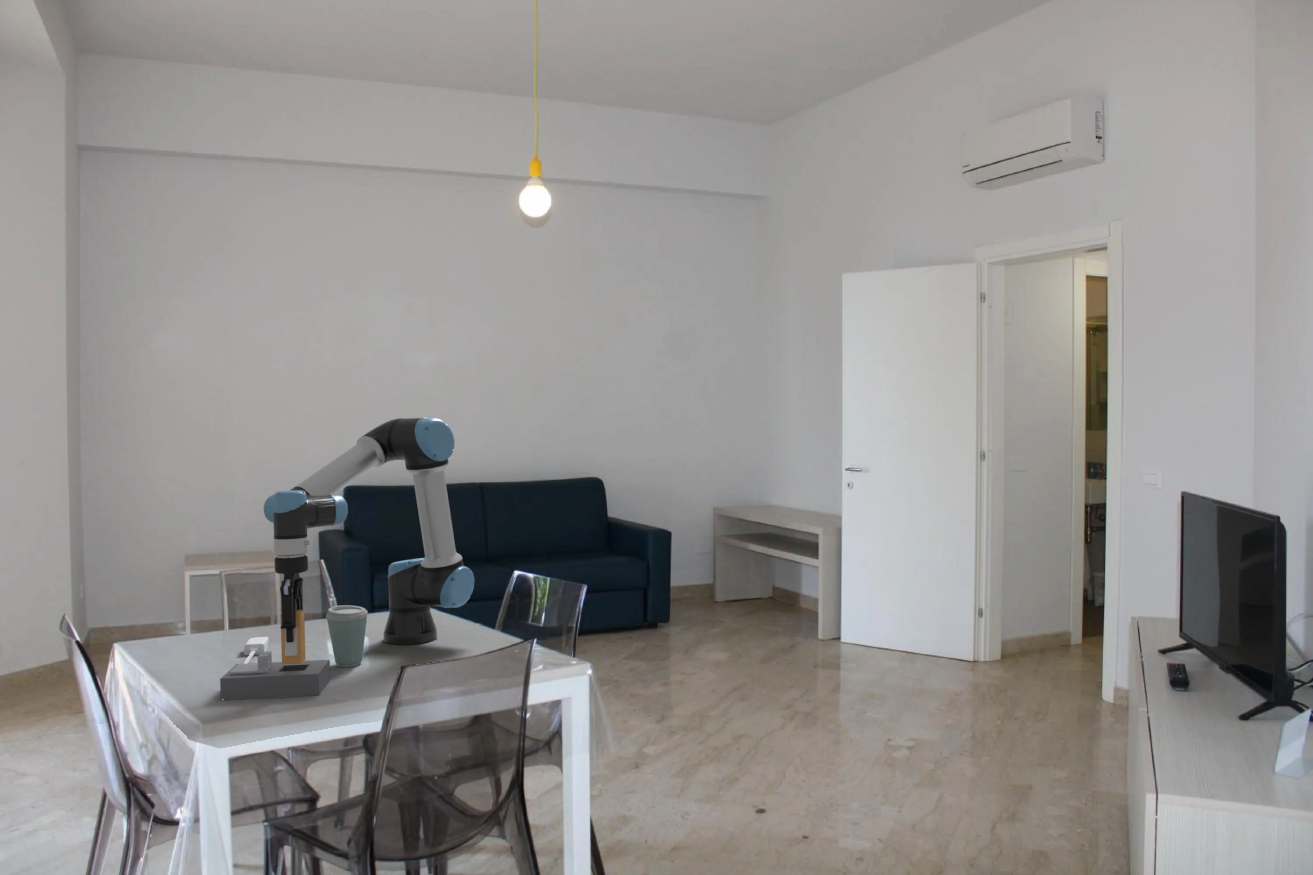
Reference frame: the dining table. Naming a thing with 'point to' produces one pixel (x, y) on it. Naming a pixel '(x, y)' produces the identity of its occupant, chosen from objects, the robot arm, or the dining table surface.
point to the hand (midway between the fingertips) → (293, 652)
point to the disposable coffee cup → (347, 633)
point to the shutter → (255, 665)
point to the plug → (300, 640)
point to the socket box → (278, 681)
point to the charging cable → (255, 647)
